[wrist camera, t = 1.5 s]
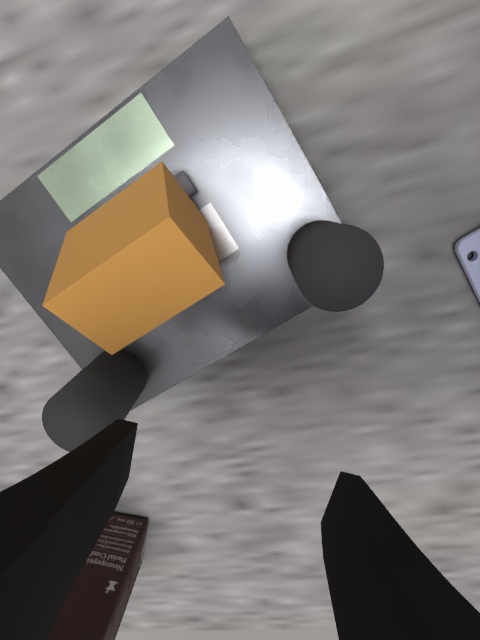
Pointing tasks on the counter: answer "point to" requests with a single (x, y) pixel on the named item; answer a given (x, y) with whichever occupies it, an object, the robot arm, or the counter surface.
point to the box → (103, 583)
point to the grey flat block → (210, 198)
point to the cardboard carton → (135, 262)
